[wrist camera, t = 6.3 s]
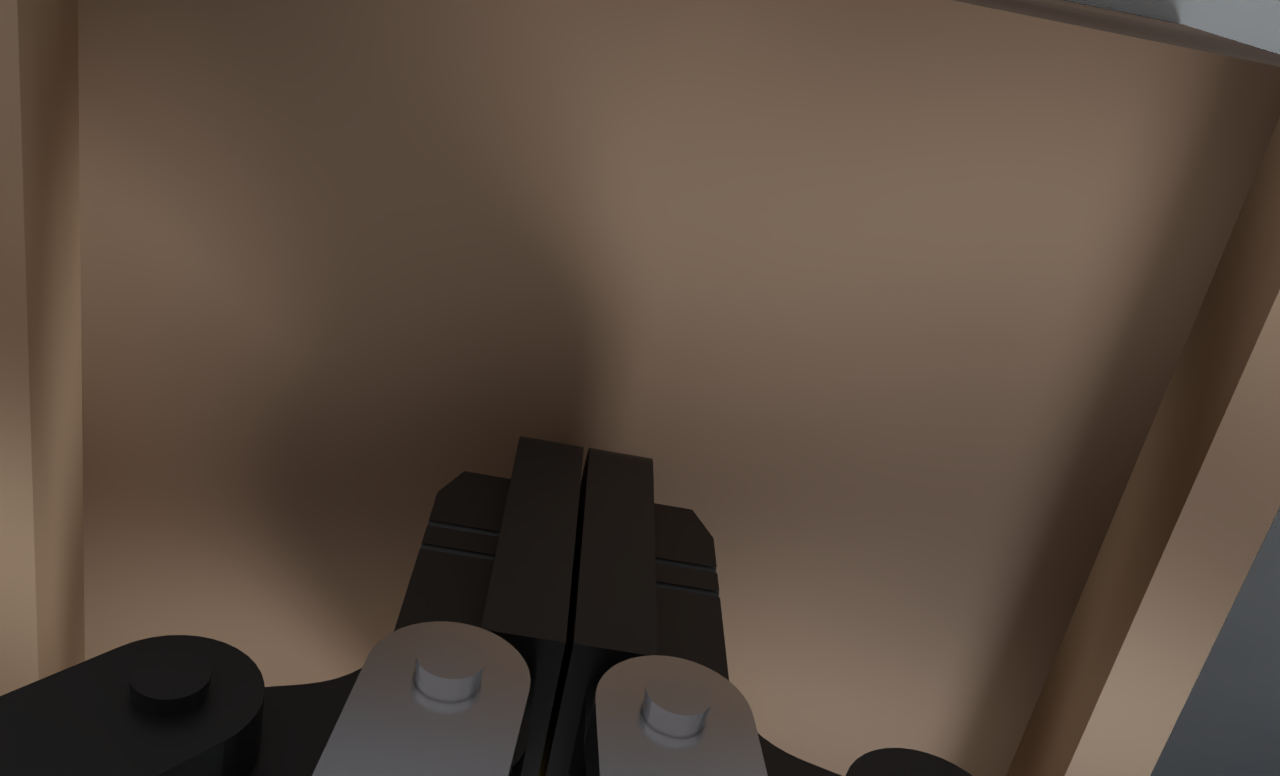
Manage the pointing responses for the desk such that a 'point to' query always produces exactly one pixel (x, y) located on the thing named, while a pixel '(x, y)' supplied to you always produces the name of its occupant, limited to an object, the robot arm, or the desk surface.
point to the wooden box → (655, 335)
